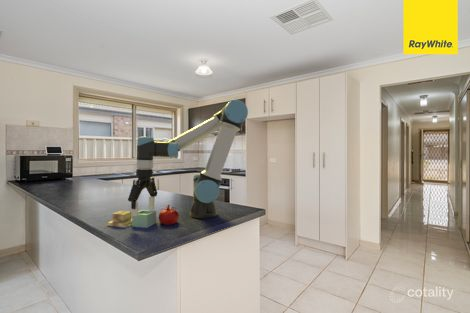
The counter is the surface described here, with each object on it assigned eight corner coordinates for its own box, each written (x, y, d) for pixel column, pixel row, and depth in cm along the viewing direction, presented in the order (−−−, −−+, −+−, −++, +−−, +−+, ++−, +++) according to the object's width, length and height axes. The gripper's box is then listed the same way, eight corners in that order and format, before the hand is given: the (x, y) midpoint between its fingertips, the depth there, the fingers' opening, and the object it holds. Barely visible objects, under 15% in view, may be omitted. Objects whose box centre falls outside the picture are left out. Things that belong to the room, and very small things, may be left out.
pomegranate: (162, 228, 116) (162, 208, 115) (155, 222, 124) (155, 204, 123) (182, 224, 121) (182, 205, 121) (174, 219, 129) (174, 201, 129)
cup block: (156, 223, 123) (156, 210, 122) (147, 228, 115) (147, 215, 115) (141, 222, 124) (141, 209, 124) (132, 226, 116) (132, 213, 116)
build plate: (138, 221, 124) (139, 210, 124) (125, 227, 114) (125, 215, 114) (121, 219, 127) (121, 209, 126) (107, 225, 117) (107, 214, 117)
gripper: (152, 166, 132) (151, 206, 132) (120, 169, 108) (118, 218, 108) (164, 167, 130) (163, 207, 130) (135, 170, 106) (133, 219, 106)
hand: (143, 212), depth 119 cm, fingers open, 13 cm apart
